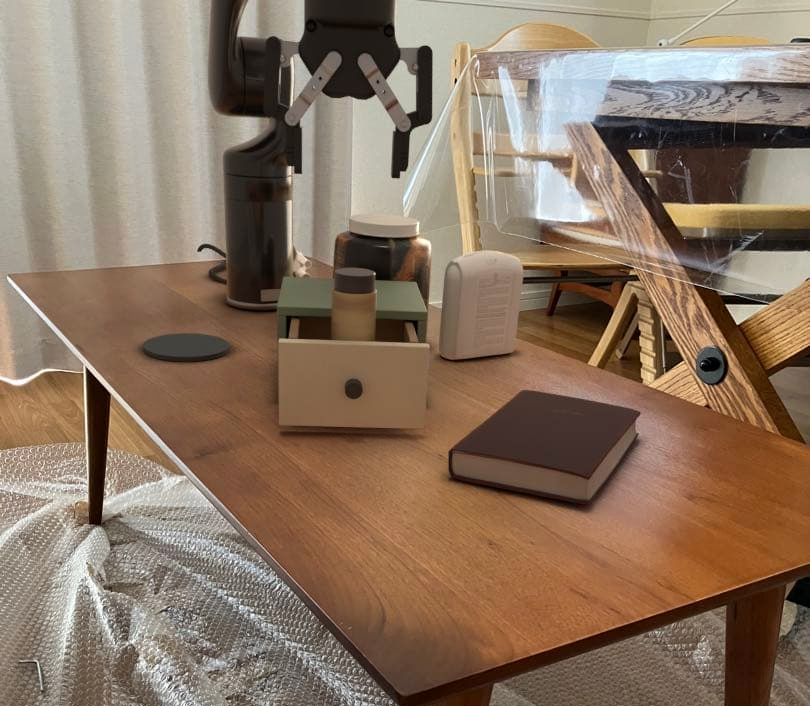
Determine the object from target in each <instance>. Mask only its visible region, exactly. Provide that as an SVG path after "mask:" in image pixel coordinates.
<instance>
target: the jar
mask: <svg viewBox="0 0 810 706" xmlns="http://www.w3.org/2000/svg"><path fill="white" fill-rule="evenodd" d="M347 229H348V230H346V231H342V232H340V233H338V234H337V235H336V237H335V239H334V247H333V261H332V262H333V263H332V264H333V266H332V279H334V272H335V270H337V269H341V268H362V269H368V270H371V271H374V272H375V280H380V281H405V282H416V283H417V286H418V288H419V291H420V294H421V296H422V299H423V301H424V304H425V307H426V309H427V312H428V313H429V309H430V308H429V307H430V296H431V295H430V293H431V280H432V279H431V278H432V275H431V274H432V244H431V241H430V240H429V239H428V238H426V237H424V236H422V235H420V220H418V219H417V218H414V217H409V216H404V215H397V214H387V213H357V214H351V215H350V216H349V217H348V227H347ZM428 325H429V315H428V316H427V326H428ZM427 337H428V331H427V332H426V340H427Z"/></svg>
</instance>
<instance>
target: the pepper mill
mask: <svg viewBox="0 0 810 706" xmlns="http://www.w3.org/2000/svg"><path fill="white" fill-rule="evenodd" d="M376 303H377V290H376V289H375V272H374V271H371V270H368V269H362V268H341V269H337V270H335V272H334V287H333V288H332V311H331V340H338V341H367V342H375V328H376Z"/></svg>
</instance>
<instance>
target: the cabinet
mask: <svg viewBox="0 0 810 706" xmlns="http://www.w3.org/2000/svg"><path fill="white" fill-rule="evenodd" d="M333 287H334V279H333V278H327V277H311V278H306V277H296V276H293V277H283V281H282V286H281V290H280V295H279V299H278V304H277V310H276V347H277V348H276V349H277V350H276V351H277V352H276V353H277V354H276V355H277V356H276V357H277V358H276V359H277V360H276V361H277V368H276V369H277V370H276V371H277V403H279V366H278V341H279V339H289V331H290V325H291V318H292V316H313V317H331V311H332V288H333ZM375 289H376V290H377V303H376V319H395V320H412V323H413V326H414V329H415V332H416V336H417V339H418V342H419V343H426V344H427V339H426V332H427V333H428V325H427V316H428V317H429V311H428V312H427V309H426V307H425V304H424V301H423V299H422V296H421V294H420V291H419V288H418V286H417V283H416V282H405V281H380V280H375Z"/></svg>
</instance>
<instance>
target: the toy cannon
mask: <svg viewBox="0 0 810 706" xmlns="http://www.w3.org/2000/svg"><path fill="white" fill-rule="evenodd" d="M301 264H302V266H301ZM312 266H313V263H312V261H311V260H310V259H308V258H306V257H305V256H304V254H303V253H302V252H300V251H299V250H297V248H296V246H295V245H294V244H293V274H294V277H306V278H312V276H311V274H310V273H309V272H306V270H307V269H311V268H312Z"/></svg>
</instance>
